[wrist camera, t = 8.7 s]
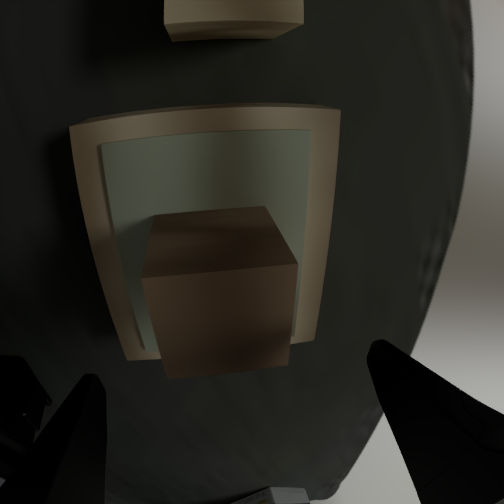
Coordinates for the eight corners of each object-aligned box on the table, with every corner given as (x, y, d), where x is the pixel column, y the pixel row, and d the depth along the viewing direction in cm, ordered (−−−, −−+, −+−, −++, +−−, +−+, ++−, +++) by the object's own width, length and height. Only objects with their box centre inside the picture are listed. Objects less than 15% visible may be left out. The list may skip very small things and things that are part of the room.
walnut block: (168, 303, 16) (167, 379, 12) (154, 214, 14) (140, 278, 10) (263, 294, 17) (287, 364, 13) (265, 205, 15) (298, 263, 10)
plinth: (131, 328, 21) (126, 363, 18) (88, 118, 14) (66, 127, 11) (300, 311, 23) (315, 343, 20) (316, 104, 16) (343, 110, 13)
